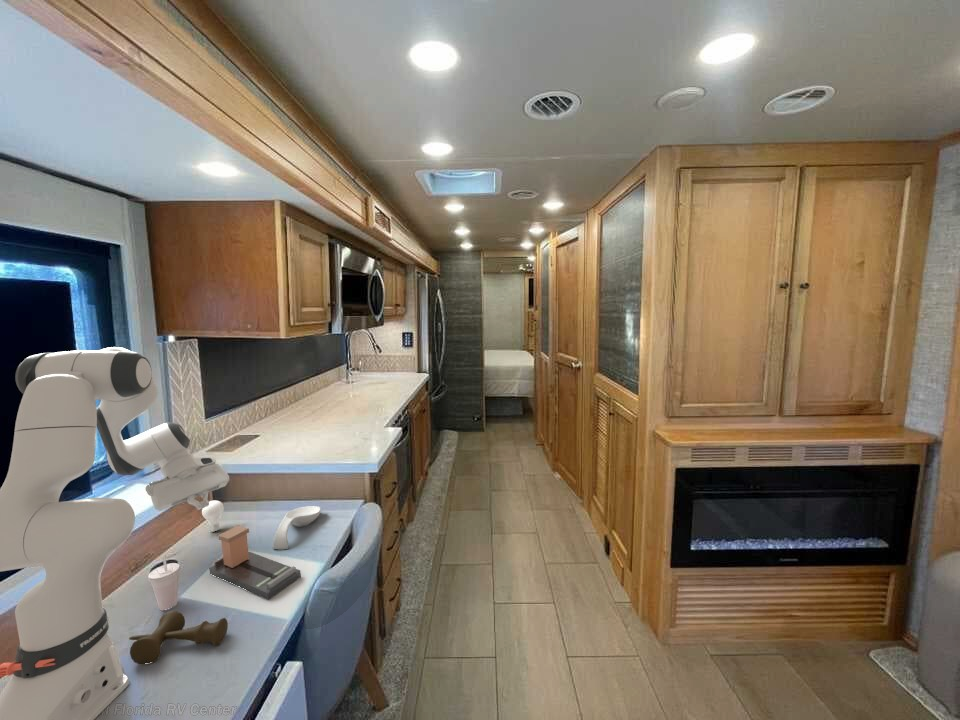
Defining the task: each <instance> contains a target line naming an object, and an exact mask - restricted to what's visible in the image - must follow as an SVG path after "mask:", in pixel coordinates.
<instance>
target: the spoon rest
mask: <svg viewBox="0 0 960 720" xmlns="http://www.w3.org/2000/svg"><path fill="white" fill-rule="evenodd" d="M321 512H322V508H321V507H320V506H318V505H317V506H316V505H307V506H301V507H297V508H295V509H292V510H290V511H288V512H286V514H285V515H284V517H283V519H282V520H281V521H280V523H279V525H278V527H277V529H276V532H275V536H274V539H273V544H272V545H273V546H272V550H274V549H278V550H288V549H289V543H288V542H289V541H288V531H289V527H290V526H291V525H293V526H294V527H297V528H300V527H305V526H309V525H310V524H311V523H313V522H314V521H315V520H316V519H318V517H319V515H320V514H321Z"/></svg>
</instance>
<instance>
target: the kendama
mask: <svg viewBox="0 0 960 720" xmlns="http://www.w3.org/2000/svg"><path fill="white" fill-rule="evenodd" d="M228 625H229V623H228V620H227V618H226V617H222V618H220V619H219V620H218V621H216V622H208V621H207V620H205V621H202V622H201V623H200V624H198V625H196V626H192V627H188V628H184V627H185V626H186V619H185V616H184V614H183V613H182V612H180V611H177V610H171V611H167V612H166V611H165V613H163V614H162V615H161V617H160V619H159V621H158V627H157V628H156V629H155V630H154V631H153V632H152V633H151V634H150V633H149V634H139V635H133V636H130V637H129V638H128V639H129V640H130V641H133V642H132V644H131V645H130V649H129V655H130V659H131V660H132V661H133V662H134V663H135V664H137V665H139V664H145V663H150V662H153V663H155V662H156V661H158V659H159V657H160V656H161V651H162V645H163V644H164V642H165V641H166V640H181V641H191V642H194V643H195V645H196V646H200V645H202V644H204V643H211V644H213V645H214V646H215V647H217V646H220V645H221V643H222V642H224V639H225V637H226V635H227V631H228Z"/></svg>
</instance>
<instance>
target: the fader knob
mask: <svg viewBox="0 0 960 720" xmlns="http://www.w3.org/2000/svg"><path fill="white" fill-rule="evenodd" d="M249 533H250V528H248V527H245V526H243V525H236V526H234V527H231V528H230V529H228V530H226V531H224V532H222V533H220V534H218V535H217V538H218V540H219V541H221V548H222V549H221V550H222V557H223V560H224V565H226V566H229V567H231V568H233V567H235V566H237V565H239V564H240V563H242V562H244V561H245V560H247V559H249V552H250V551H249V544H248V541H249V540H248V534H249Z"/></svg>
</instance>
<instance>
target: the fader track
mask: <svg viewBox="0 0 960 720" xmlns="http://www.w3.org/2000/svg"><path fill="white" fill-rule="evenodd" d="M212 563H213V564H212V565H211V566H210V567H208V569H209V570H208V571H209V575H210V574H212V575H214V576H216V577H215V578H217V577H219V578H221V579H224V580H226V581H228V582H231V583H233V584H235V585H237V586H240V587H241V588H240V589H242V588H244V589H246V590H247V592H248V591H249V593H251V594H253V595H255V596H258V597H260V598H262V599H265V600H267V601H269V600H271V599H272V598H273V597H275V596H276V595H278V594H279V593H280V592H282V591H284V590H285V589H286V588H287V587H290V585H293V583H295V582H296V581H298V580H299V579H301V577H302V573H301V570H300V569H298V568H296V566H290V565H287V564H284V563H281V562H279V561H276V560H273V559H270V558H268V557H265V556H263V555H260V554H257V553H254V552H251V551H249V559H247V560H245V561H244V562H242V563H240V564H239V565H237V566H235V567H233V568H231V567H229V566H226V565H224V560H223V556H221V557H219V558H217V559H215V560H213V561H212ZM212 575H211V576H212ZM214 576H213V577H214ZM219 578H218V579H219ZM221 579H220V580H221ZM224 580H223V581H224ZM226 581H225V582H226ZM228 582H227V583H228ZM233 584H232V585H233ZM235 585H234V586H235ZM237 586H236V587H237ZM244 589H243V590H244ZM246 590H245V591H246Z"/></svg>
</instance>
